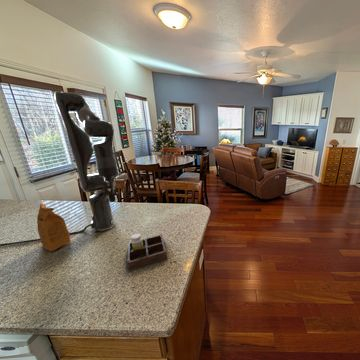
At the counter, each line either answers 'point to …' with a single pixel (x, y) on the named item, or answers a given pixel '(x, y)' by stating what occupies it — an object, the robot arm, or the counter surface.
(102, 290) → the counter surface
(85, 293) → the counter surface
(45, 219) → the coffee package
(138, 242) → the supplement bottle
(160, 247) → the grid
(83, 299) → the counter surface
